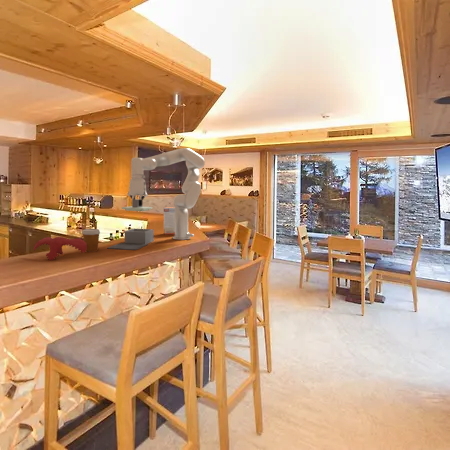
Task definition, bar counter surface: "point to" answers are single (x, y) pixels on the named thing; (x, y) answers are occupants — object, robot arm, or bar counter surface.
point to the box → (139, 236)
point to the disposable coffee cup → (91, 239)
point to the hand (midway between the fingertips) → (137, 205)
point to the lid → (136, 206)
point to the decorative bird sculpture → (60, 245)
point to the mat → (127, 246)
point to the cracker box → (169, 220)
